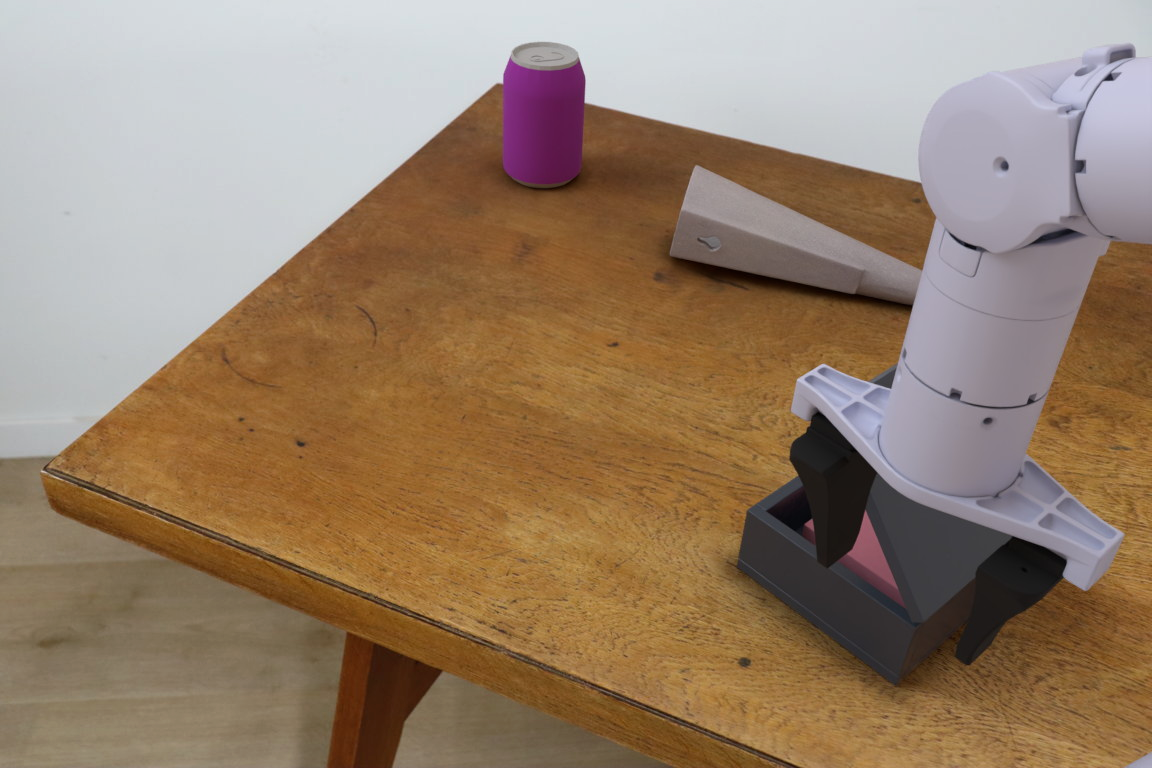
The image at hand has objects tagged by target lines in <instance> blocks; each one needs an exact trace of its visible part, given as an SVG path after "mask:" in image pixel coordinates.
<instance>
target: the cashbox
mask: <svg viewBox="0 0 1152 768" xmlns="http://www.w3.org/2000/svg"><path fill="white" fill-rule="evenodd" d="M811 519H812V514H811V509H810V505H809V502H808V498H807V495H806V492H805V490H804V487H803V484H802V482H801V480H800V478H799V476H798V475H797V476H795V477H794V478H792V479H791V480H789V481H788V482H786V483H784V484H783V485H781V486H780V487H779V488H777V489H776V490H774V491H773V492H772V493H769V494H768V495H767V496H765V497H763V498H762V499H761V500H760V501H758V502H756V504H753V505H752V506H750V507H749V508H748V509H747V510H746V513H745V519H744V525H743V530H742V534H741V535H742V536H741V540H740V546H739V551H738V557H737V558H738V559H737V564H736V567H737V568H738V569H739V570H740V571H742V572H743V573H744V574H745V575H747V576H748V577H750V578H751V579H752V580H753V581H754V582H756V583H757V584H759V585H760V586H761V587H762V588H764V589H765V590H766V591H768V592H769V593H771V594H772V595H773V596H774V597H776V598H777V599H778V600H780V601H781V602H783V603H784V604H785V605H787V606H788V607H789V608H790V609H792V610H793V611H795V612H796V613H797V614H798V615H800V616H801V617H803V618H804V619H805V620H807V621H808V622H809V623H810V624H812V625H813V626H815V627H816V628H817V629H818V630H820V631H821V632H822V633H824V634H825V635H826V636H828V637H829V638H830V639H832V640H833V641H835V642H836V643H838V644H839V645H840V646H841V647H843V648H844V649H845V650H847V651H848V652H850V653H851V654H852V655H853V656H855V657H856V658H857V659H859V660H860V661H861V662H863V663H864V664H865V665H866V666H868V667H869V668H871V669H872V670H873V671H875V672H876V673H877V674H878V675H880V676H881V677H883V678H884V679H885V680H887V681H888V682H890V683H891V684H892V685H893V686H895V687H897V686H898V685H899V684H900V683H901V682H902V681H904V680H905V679H906V678H907V677H908V676H909V675H911V673H913V671H915V670H916V669H917V668H918V667H919V666H920V665H921V664H922V663H924V661H925V660H927V659H928V658H929V657H930V656H931V655H932V654H934V653H935V652H936V651H937V650H938V649H939V648H940V647H941V646H942V645H943V644H944V643H945V642H947V641H948V640H949V639H951V637H952V636H953V635H954V634H956V632H958V630H960V628H962V627H963V626H964V625H966V624H967V622H968V619H969V616H970V613H971V609H972V605H973V600H974V595H975V586H976V577H975V578H974V579H973V580H972V581H971V582H970V583H968V584H967V585H966V586H965V587H964V588H963V589H962V590H960V591H959V592H958V593H957V594H956V595H955V596H954V597H952V598H951V599H950V600H949V601H948V602H947V603H946V604H944V605H943V606H942V607H941V608H940V609H939V610H938V611H936V612H935V613H934V614H933V615H932V616H931V617H930V618H928V619H927V620H926V621H925V622H924V623H918V622H912V621H911V619H910V616H909V614H908V611H907V609H905V608H904V607H903V606H901V605H900V604H898V603H897V602H895V601H894V600H893V599H891V598H890V597H888V596H887V595H885V594H884V593H882V592H881V591H880V590H878V589H877V588H875V587H874V586H872V585H871V584H870V583H868V582H867V581H865V580H864V579H862V578H861V577H860V576H858V575H857V574H855V573H854V572H852V571H851V570H850V569H848V568H847V567H845V566H844V565H842V564H841V563H839V562H838V561H837V562H835V563H834V564H833V565H832V566H830V567H829V568H828V569H827V568H826V567H824V566H823V565H821V564H820V563H818V562H817V553H816V546H815V545H814V544H812V543H811V542H809V541H808V540H806V539H805V538H804V537H802V533H803V528H804V524H805V523H807V522H808V521H810V520H811Z"/></svg>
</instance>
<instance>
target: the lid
mask: <svg viewBox="0 0 1152 768" xmlns="http://www.w3.org/2000/svg"><path fill="white" fill-rule="evenodd" d="M897 365H898V362H896V363H895V364H893V365H892V366H890V367H888V368H887V369H885V370H884V371H882V372H880V373H879V374H877V375H876V376H874V377H873V378H871V379H870V380H868V381H867V382H870V383H873V384H876V385H879V386H883V387H886V388H889V389H891V388H892V384H893V380H894V376H895V373H896V369H897ZM865 510H866V513H867V515H868V517H869V520H870V522H871V525H872V527H873V529H874V532H875V534H876V537H877V539H878V541H879V544H880V546H881V549H882V551H883V554H884V556H885V558H886V561H887V563H888V566H889V568H890V570H891V573H892V575H893V578H894V580H895V582H896V585H897V587H898V590H899V592H900V595H901V597H902V599H903V602H904V604H905V607H906V609H907V611H908V614H909V616H910V619H911V621H912V622H918V623H924V622H925V621H926V620H927V619H928V618H930V617H931V616H932V615H933V614H934V613H935V612H936V611H938V610H939V609H940V608H941V607H942V606H943V605H944V604H946V603H947V602H948V601H949V600H950V599H951V598H952V597H954V596H955V595H956V594H957V593H958V592H959V591H960V590H962V589H963V588H964V587H965V586H966V585H967V584H968V583H970V582H971V581H972V580H973V579H974V578H975V577H976V576H975V573H976V570H977V568H978V566H979V565H980V564H981V563H982V562H984V561H985V560H986V559H987V558H988V557H989V556H990V555H992V554H993V553H994V552H995V551H996V550H997V549H998V548H999V547H1001V546H1002V545H1004V544H1005V543H1006V542H1008V541H1009V540H1010V539H1011V538H1012V536H1011V535H1009V534H1006V533H1003V532H1000V531H997V530H994V529H991V528H988V527H985V526H982V525H980V524H977V523H974V522H971V521H968V520H965V519H962V518H959V517H956V516H953V515H951V514H948V513H945V512H942V511H939V510H936V509H933V508H930V507H927V506H925V505H922V504H920V503H917V502H915V501H913V500H911V499H909V498H907V497H906V496H904V495H902V494H901V493H899V492H898V491H897V490H895V489H894V488H893V487H891V486H890V485H889V484H888V483H887V482H886V481H885V480H884V479H883V478H882V477H881V476H880V475H879V474H878V472H877V475H876V477H875V480H874V482H873V485H872V487H871V490H870V493H869V497H868V501H867V505H866V509H865Z"/></svg>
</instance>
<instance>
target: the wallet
mask: <svg viewBox="0 0 1152 768" xmlns="http://www.w3.org/2000/svg"><path fill="white" fill-rule="evenodd" d="M802 537H804V538H805V539H806V540H808V541H809V542H811V543H812V544H814V545H815V546H816V542H815V533H814V525H813V519H811V520H810V521H808V522H807V523H805V524H804V528H803V533H802ZM838 562H839V563H841V564H842V565H844V566H845V567H847V568H848V569H850V570H851V571H852V572H854V573H855V574H857V575H858V576H860V577H861V578H862V579H864V580H865V581H867V582H868V583H870V584H871V585H872V586H874V587H875V588H877V589H878V590H880V591H881V592H882V593H884V594H885V595H887V596H888V597H890V598H891V599H893V600H894V601H895V602H897V603H898V604H900V605H901V606H903V607H904V608H905V609H906V607H905V604H904V602H903V599H902V597H901V595H900V592H899V590H898V587H897V585H896V582H895V580H894V578H893V575H892V573H891V570H890V568H889V566H888V563H887V561H886V558H885V556H884V554H883V551H882V549H881V546H880V544H879V541H878V539H877V537H876V534H875V532H874V529H873V527H872V525H871V522H870V520H869V517H868V515H867V513H866V510H865V513H864V517H863V521H862V525H861V529H860V532H859V535H858V537H857V540H856V542H855V544H854V547H853V549H852V550H851V551H850V552H848V553H847V554H846V555H844V556H843V557H842V558H841V559H839V560H838Z"/></svg>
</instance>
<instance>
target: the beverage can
mask: <svg viewBox="0 0 1152 768" xmlns="http://www.w3.org/2000/svg"><path fill="white" fill-rule="evenodd" d="M503 71H504V72H503V73H502V74H503V77H502V78H503V79H502V165H503V170H504V171H505V173H506V174H507V175H508V176H509V177H510V178H511V179H512V180H514V181H515V182H517V183H518V184H521V185H523V186H526V187H531V188H534V189H535V188H536V189H550V188H551V189H552V188H558V187H561V186H564V185H566V184H568V183H569V182H571V181H573V180H574V178H575V177H577V176H578V175H579V174H580V172H581V170H582V169H581V168H582V165H583V147H584V146H583V144H584V143H583V141H584V123H585V101H586V84H587V83H586V74H585V72H584V67H583V65H582V62H581V59H580V56H579V52H578V50H576V49H575V48H573V47H571V46H569V45H568V44H564V43H560V42H553V41H531V42H526V43H521V44H519V45H516V46H515V47H514V48H513V49H512V50H511V53H510V56H509V58H508V61H507V64H506V66H505V69H504V70H503Z"/></svg>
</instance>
